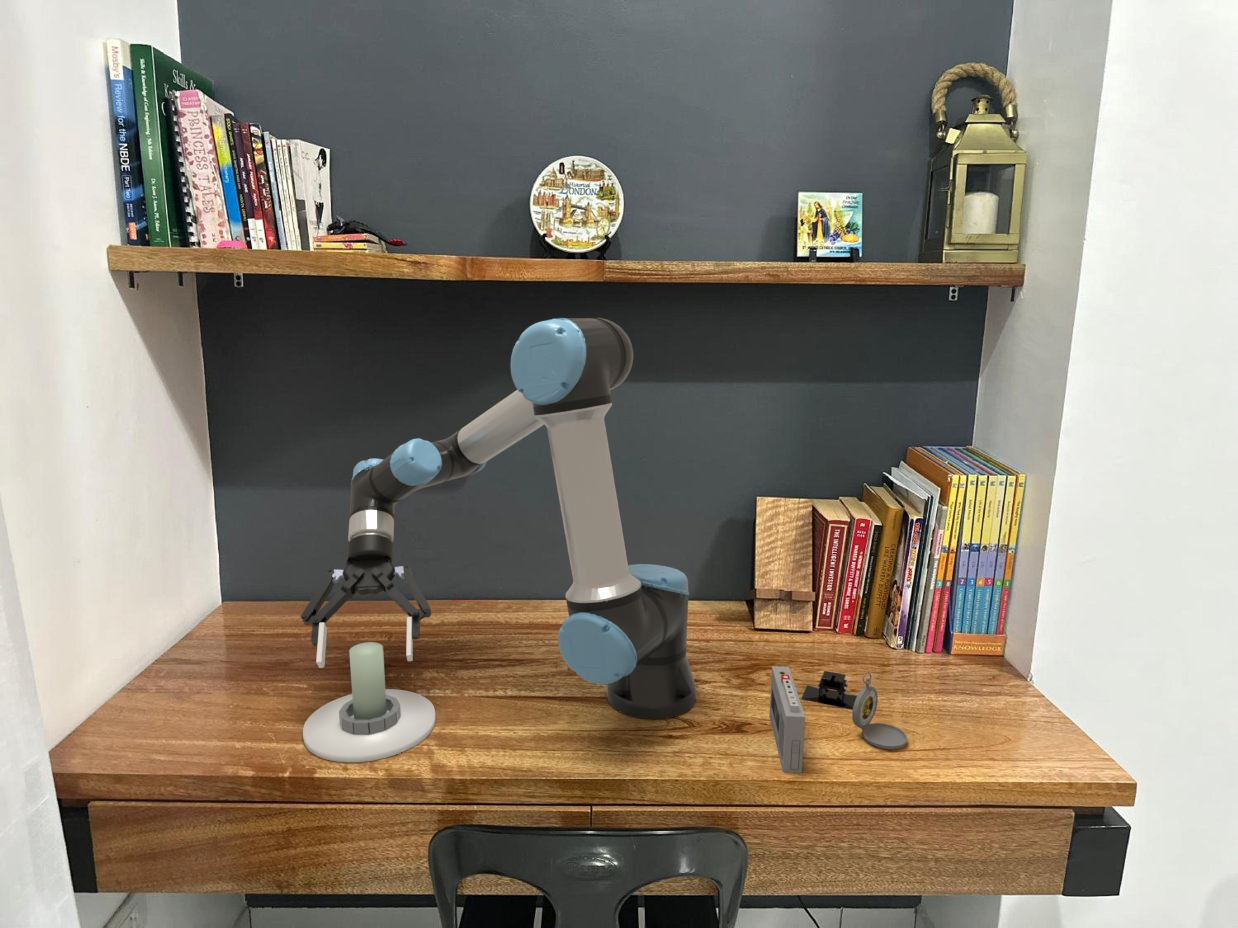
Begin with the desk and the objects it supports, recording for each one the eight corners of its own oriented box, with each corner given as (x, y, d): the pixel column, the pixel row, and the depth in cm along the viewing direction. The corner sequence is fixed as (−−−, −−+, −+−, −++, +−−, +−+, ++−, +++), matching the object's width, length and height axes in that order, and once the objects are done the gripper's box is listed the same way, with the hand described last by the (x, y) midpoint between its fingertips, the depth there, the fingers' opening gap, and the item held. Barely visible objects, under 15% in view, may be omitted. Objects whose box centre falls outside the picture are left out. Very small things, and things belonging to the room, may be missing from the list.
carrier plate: (447, 695, 136) (446, 678, 136) (418, 762, 117) (417, 743, 116) (330, 695, 136) (328, 677, 136) (282, 761, 117) (280, 742, 116)
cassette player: (769, 716, 131) (772, 660, 129) (785, 717, 131) (789, 661, 128) (782, 772, 115) (786, 709, 113) (801, 773, 115) (805, 710, 113)
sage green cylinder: (390, 711, 129) (386, 642, 126) (381, 727, 124) (377, 656, 122) (359, 710, 129) (355, 642, 126) (349, 727, 124) (344, 656, 122)
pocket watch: (909, 754, 120) (915, 693, 118) (852, 747, 122) (856, 687, 120) (902, 726, 128) (907, 668, 126) (847, 720, 130) (852, 663, 128)
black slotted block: (791, 702, 136) (793, 677, 135) (800, 683, 143) (801, 660, 142) (866, 718, 132) (868, 692, 131) (872, 698, 138) (874, 673, 137)
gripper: (445, 548, 143) (446, 663, 132) (299, 556, 139) (287, 675, 127) (443, 528, 137) (444, 647, 125) (290, 535, 132) (276, 659, 121)
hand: (365, 661), depth 126 cm, fingers open, 13 cm apart
